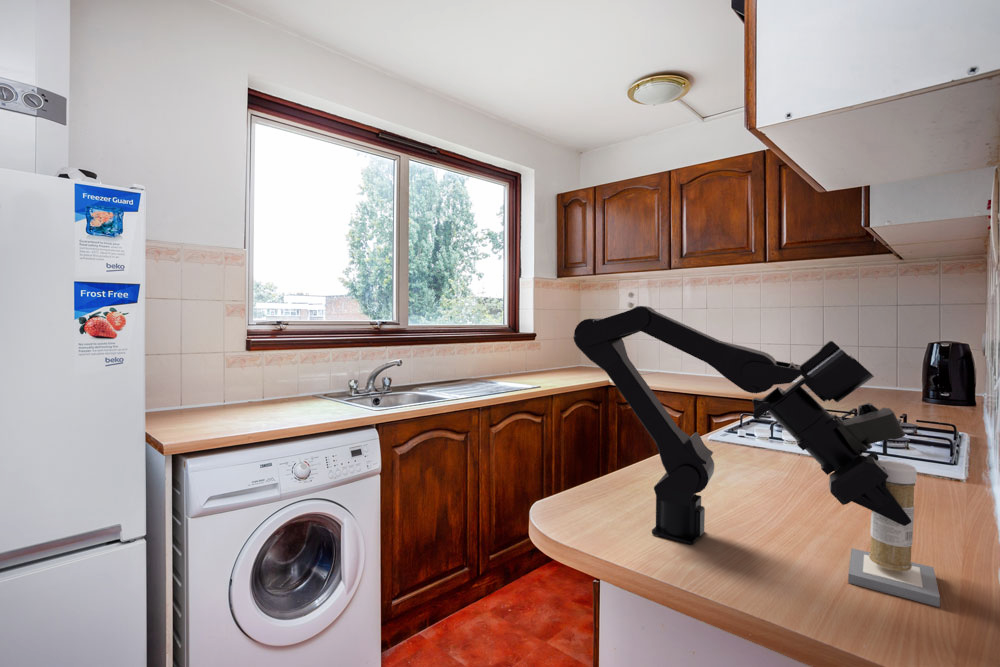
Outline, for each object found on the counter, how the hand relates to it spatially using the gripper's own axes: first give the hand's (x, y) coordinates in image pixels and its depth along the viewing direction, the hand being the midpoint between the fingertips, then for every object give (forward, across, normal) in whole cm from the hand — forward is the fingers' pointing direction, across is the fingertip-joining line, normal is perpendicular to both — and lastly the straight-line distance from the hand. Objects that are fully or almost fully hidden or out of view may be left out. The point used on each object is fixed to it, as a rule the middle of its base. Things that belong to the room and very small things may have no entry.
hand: (904, 517), depth 65 cm
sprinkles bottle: (+4, 0, +6) cm, 7 cm away
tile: (+5, 0, +7) cm, 9 cm away
